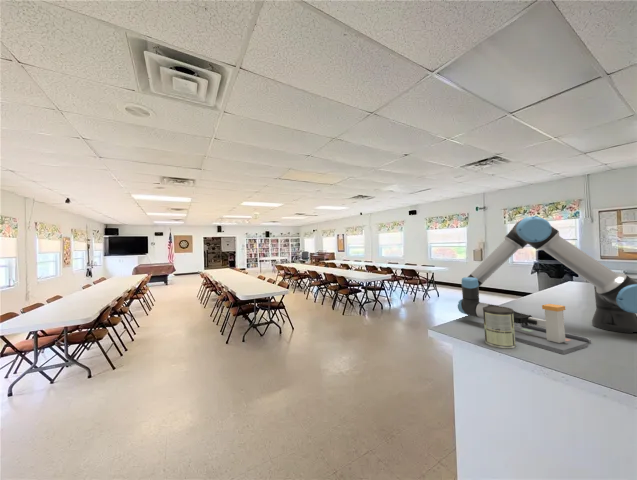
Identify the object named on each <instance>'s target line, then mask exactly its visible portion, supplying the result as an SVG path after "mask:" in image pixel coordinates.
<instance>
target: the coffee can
mask: <svg viewBox="0 0 637 480" xmlns="http://www.w3.org/2000/svg"><path fill="white" fill-rule="evenodd" d="M514 311H515V309H513V308H510V307H506V306H501V305H497V306H486V307H483V315H484V319H483V327H484V328H483V329H484V342H485V344H487V345H488V346H491V347H494V348H499V349H513V348H514V349H515V348H516V347H517V346H516V345H517V344H516V341H515V330H514V325H515V323H514V317H513V312H514Z"/></svg>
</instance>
